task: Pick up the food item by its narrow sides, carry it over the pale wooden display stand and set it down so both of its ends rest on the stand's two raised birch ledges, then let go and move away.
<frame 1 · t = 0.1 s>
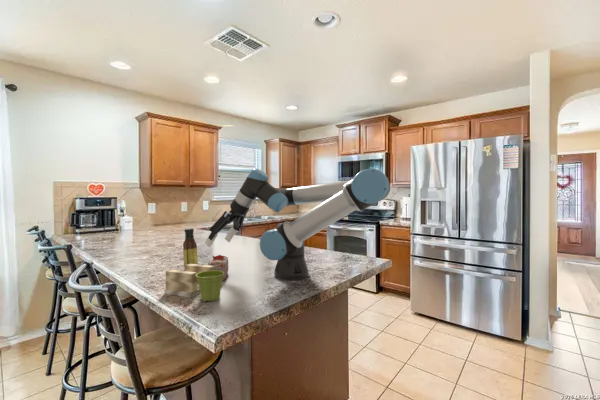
hand: (217, 242, 126), 15 cm above the countertop, tool tilted 35°, fingers open, 13 cm apart
sauce bottle: (190, 270, 140), on the countertop
display stand: (191, 289, 110), on the countertop
plant pot: (210, 299, 100), on the countertop
food item: (218, 278, 126), on the countertop
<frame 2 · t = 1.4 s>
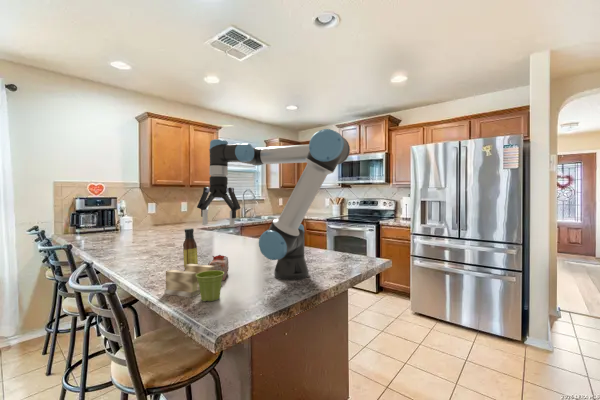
hand: (218, 225, 126), 23 cm above the countertop, tool pointing down, fingers open, 13 cm apart
nothing on the countertop moved.
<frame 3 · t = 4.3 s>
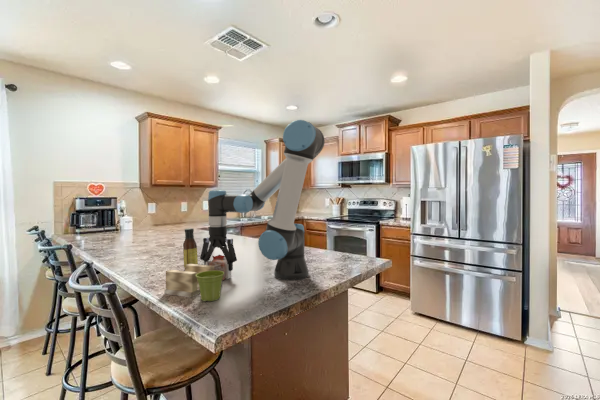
hand: (218, 277, 126), 0 cm above the countertop, tool pointing down, fingers open, 10 cm apart
food item: (218, 278, 127), on the countertop, touching gripper
everything else where it was.
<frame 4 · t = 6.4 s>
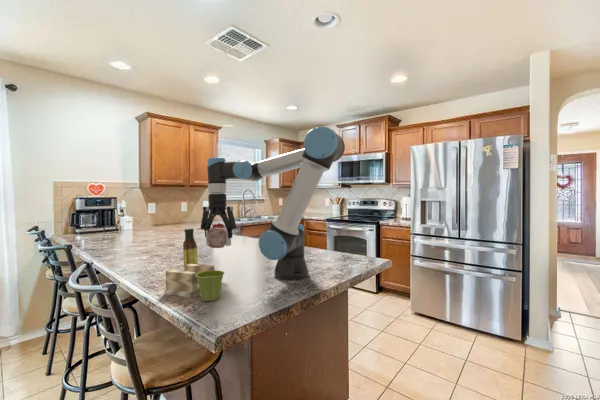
hand: (218, 245, 126), 14 cm above the countertop, tool pointing down, fingers closed on food item, 9 cm apart
food item: (218, 246, 126), point 13 cm above the countertop, touching gripper
everything else where it was.
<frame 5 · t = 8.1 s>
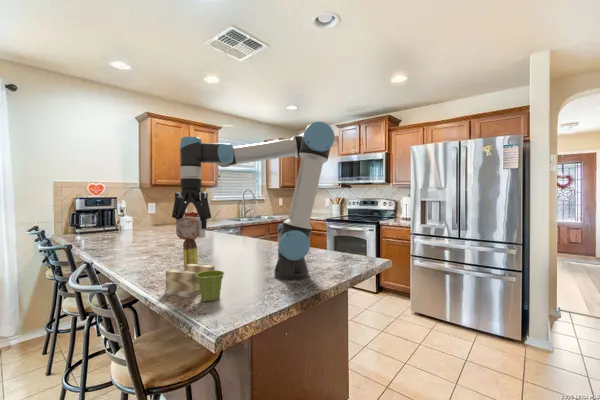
hand: (191, 236, 111), 20 cm above the countertop, tool pointing down, fingers closed on food item, 9 cm apart
food item: (191, 238, 111), point 19 cm above the countertop, touching gripper
everything else where it was.
when the fingers open (10 cm above the countertop, at t = 10.9 s): food item drops 2 cm, resting on display stand.
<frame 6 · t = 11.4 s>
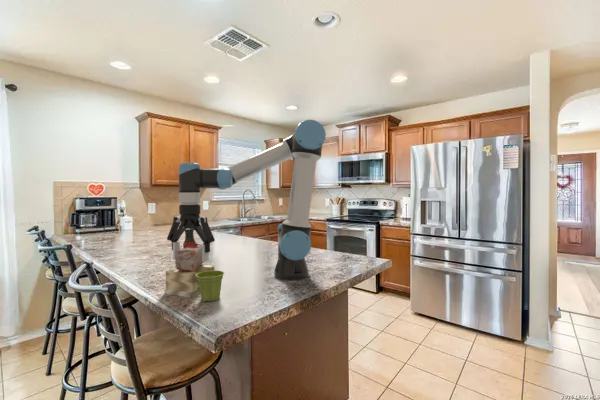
hand: (190, 260, 110), 11 cm above the countertop, tool pointing down, fingers open, 13 cm apart
food item: (190, 268, 111), point 8 cm above the countertop, touching display stand
everything else where it was.
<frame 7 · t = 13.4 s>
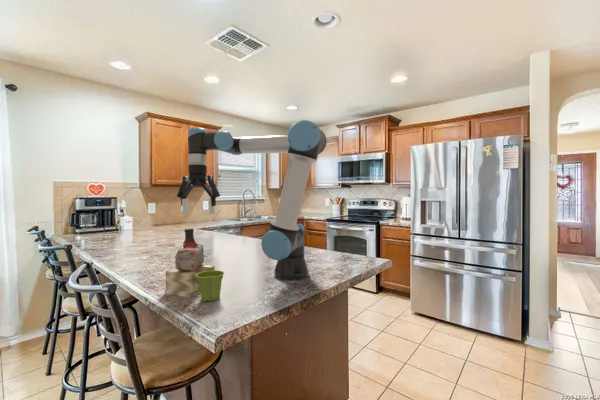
hand: (198, 213, 126), 28 cm above the countertop, tool pointing down, fingers open, 13 cm apart
nothing on the countertop moved.
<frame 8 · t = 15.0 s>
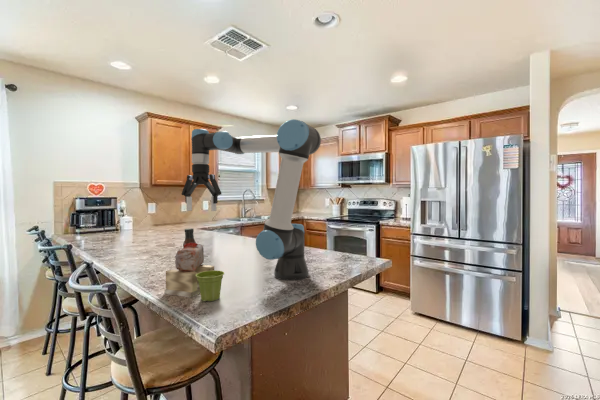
hand: (201, 210, 133), 29 cm above the countertop, tool pointing down, fingers open, 13 cm apart
nothing on the countertop moved.
at the end: food item 0.4 cm off-centre on the display stand, point 7.8 cm above the display stand's base; food item tilted 0°; the gripper is holding nothing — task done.
